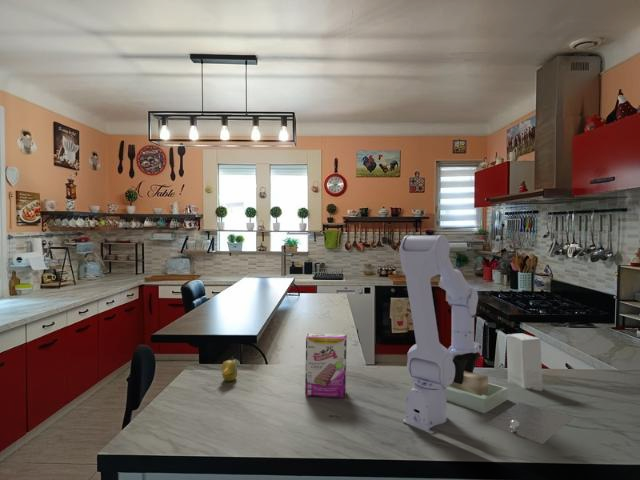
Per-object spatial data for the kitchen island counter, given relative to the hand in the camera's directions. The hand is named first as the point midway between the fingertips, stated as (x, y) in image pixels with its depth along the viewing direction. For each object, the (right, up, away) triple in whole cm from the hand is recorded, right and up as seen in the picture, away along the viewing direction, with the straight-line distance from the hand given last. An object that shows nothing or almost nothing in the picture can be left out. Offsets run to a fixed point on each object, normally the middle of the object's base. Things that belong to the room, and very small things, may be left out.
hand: (462, 381), depth 107 cm
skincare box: (+21, -5, +9) cm, 24 cm away
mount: (+10, -5, -15) cm, 19 cm away
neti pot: (-66, -5, +13) cm, 67 cm away
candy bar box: (-37, -5, +3) cm, 37 cm away
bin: (0, -5, 0) cm, 5 cm away
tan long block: (0, -2, 0) cm, 2 cm away
